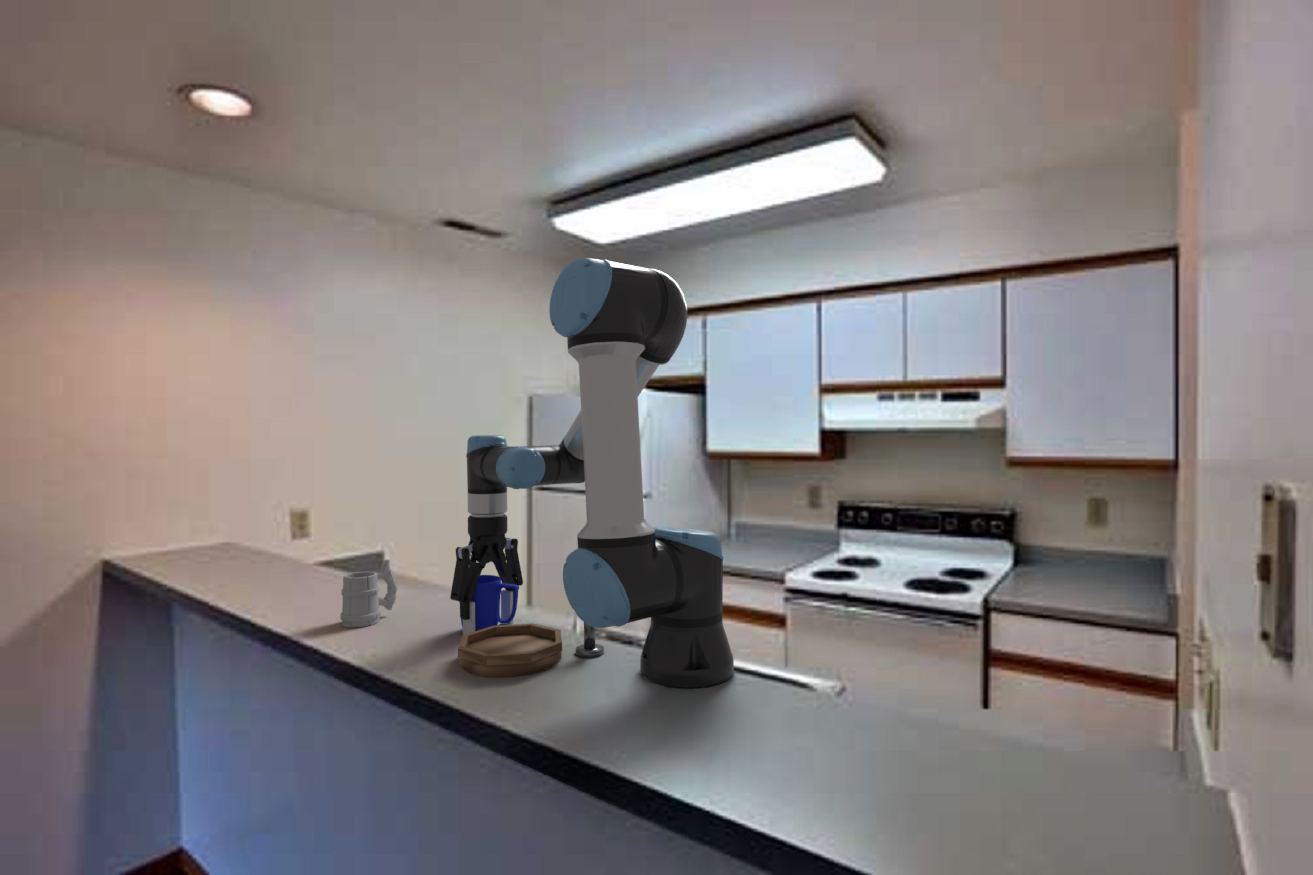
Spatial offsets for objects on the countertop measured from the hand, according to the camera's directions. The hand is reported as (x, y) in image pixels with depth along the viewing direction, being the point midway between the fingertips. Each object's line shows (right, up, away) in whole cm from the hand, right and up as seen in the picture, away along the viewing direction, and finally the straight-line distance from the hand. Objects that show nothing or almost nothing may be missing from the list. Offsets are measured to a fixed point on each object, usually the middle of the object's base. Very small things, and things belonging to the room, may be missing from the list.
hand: (488, 628), depth 135 cm
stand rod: (+21, 0, -14) cm, 25 cm away
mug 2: (0, 0, 0) cm, 0 cm away
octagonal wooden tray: (+8, 0, -17) cm, 19 cm away
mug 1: (-26, -1, +8) cm, 27 cm away
